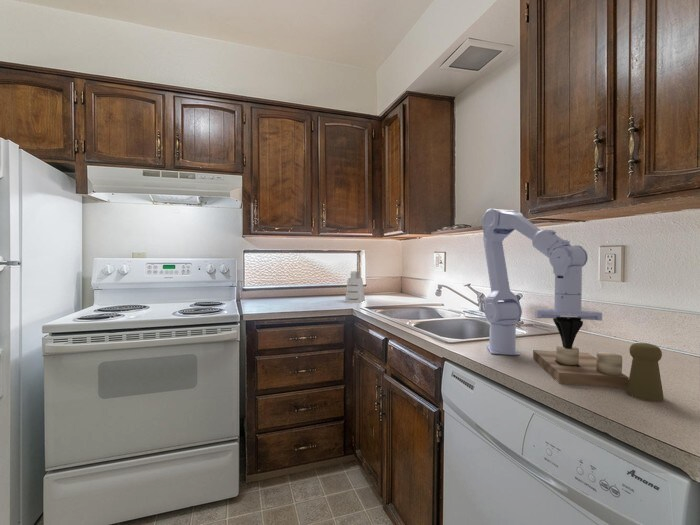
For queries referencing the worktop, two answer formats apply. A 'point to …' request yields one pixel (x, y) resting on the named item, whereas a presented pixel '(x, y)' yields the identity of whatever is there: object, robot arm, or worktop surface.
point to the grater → (354, 289)
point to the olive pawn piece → (645, 373)
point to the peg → (567, 356)
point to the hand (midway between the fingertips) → (567, 347)
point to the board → (585, 369)
